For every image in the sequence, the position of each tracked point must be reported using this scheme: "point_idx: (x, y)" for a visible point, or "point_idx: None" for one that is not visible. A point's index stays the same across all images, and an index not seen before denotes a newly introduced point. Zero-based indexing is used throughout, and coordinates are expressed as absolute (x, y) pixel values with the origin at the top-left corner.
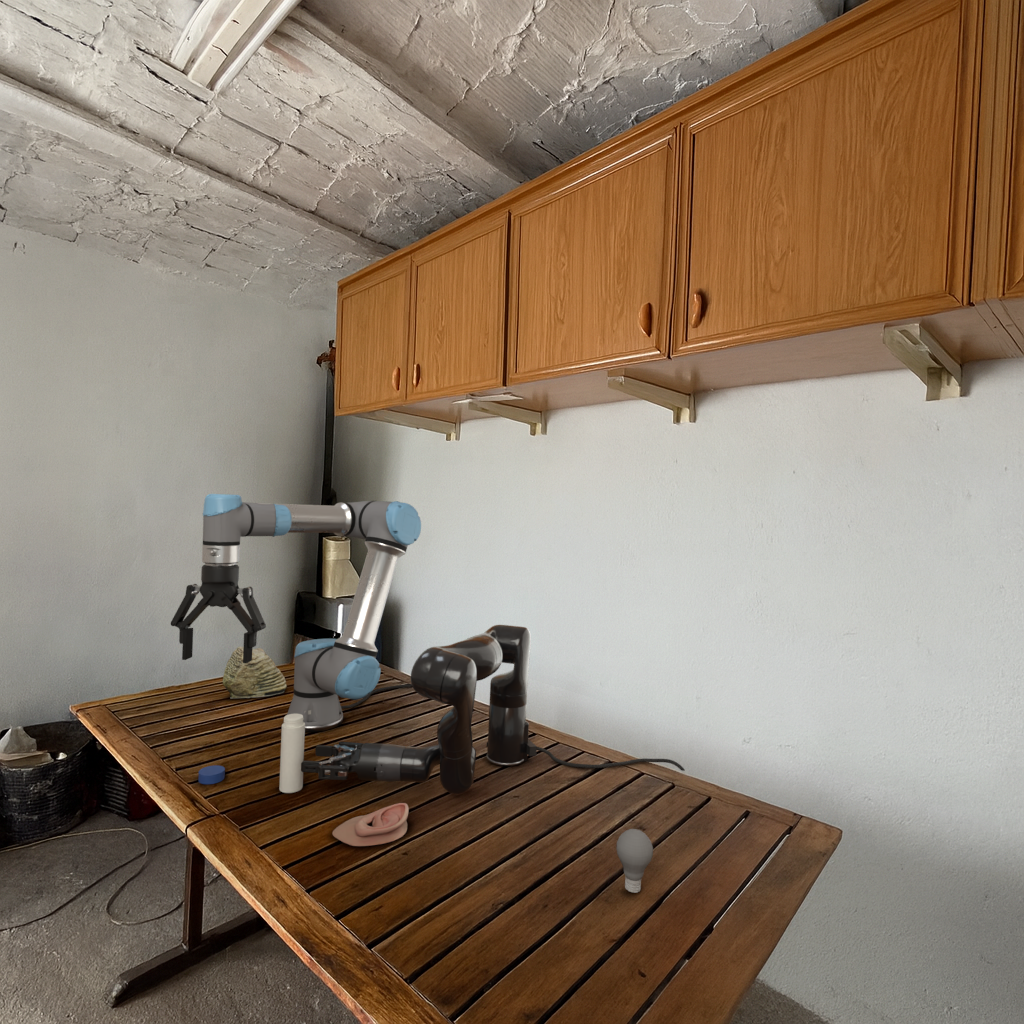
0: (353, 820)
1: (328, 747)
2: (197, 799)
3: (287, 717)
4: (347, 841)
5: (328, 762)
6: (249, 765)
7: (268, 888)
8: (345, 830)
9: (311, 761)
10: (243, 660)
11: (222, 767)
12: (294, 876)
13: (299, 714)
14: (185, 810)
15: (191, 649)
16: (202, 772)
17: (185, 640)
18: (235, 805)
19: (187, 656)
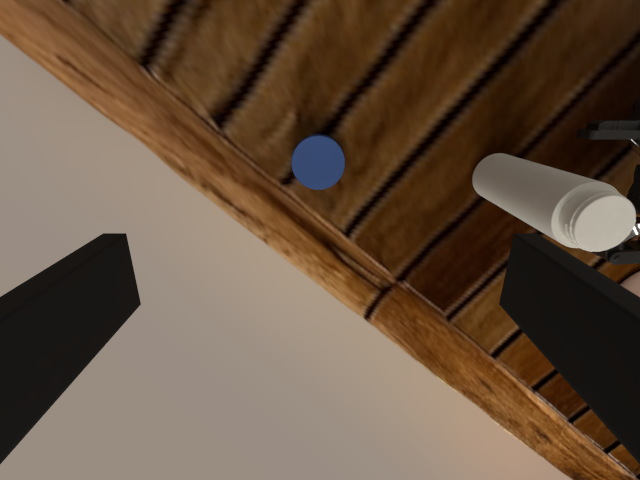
0: None
1: (626, 138)
2: (335, 242)
3: (585, 236)
4: None
5: (631, 236)
6: (368, 74)
7: (524, 421)
8: None
9: None
10: (511, 315)
11: (333, 145)
12: (550, 401)
13: (623, 202)
14: (336, 279)
15: (97, 268)
16: (304, 176)
17: (54, 394)
18: (411, 254)
19: (128, 293)
